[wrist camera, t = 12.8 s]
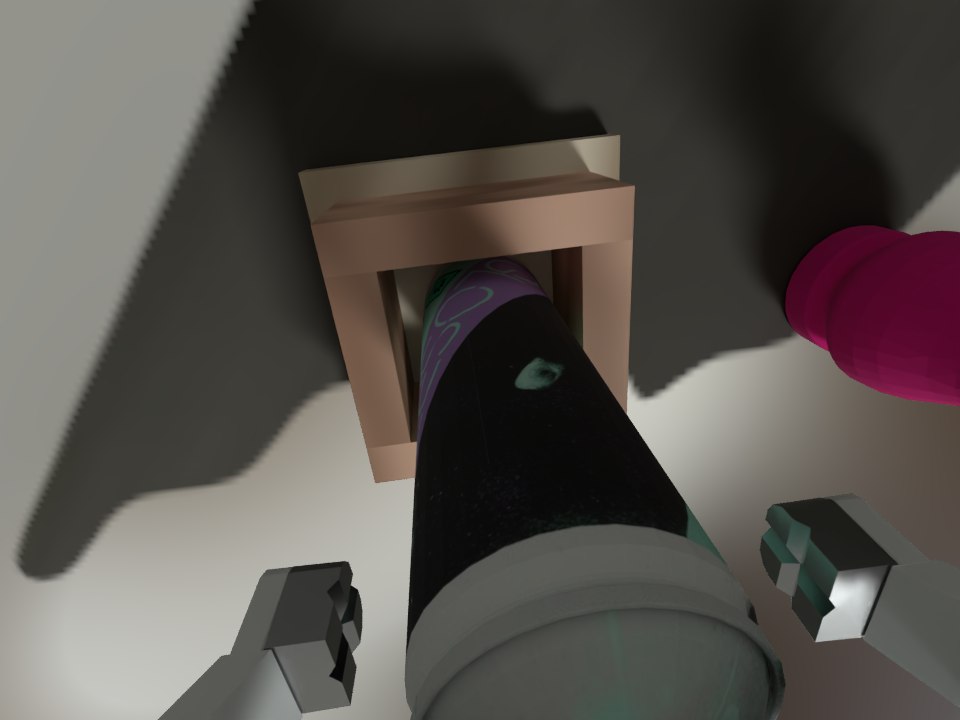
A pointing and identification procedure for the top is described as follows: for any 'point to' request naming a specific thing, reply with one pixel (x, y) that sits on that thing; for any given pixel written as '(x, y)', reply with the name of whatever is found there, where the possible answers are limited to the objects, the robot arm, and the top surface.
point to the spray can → (556, 536)
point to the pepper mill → (884, 309)
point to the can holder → (466, 236)
